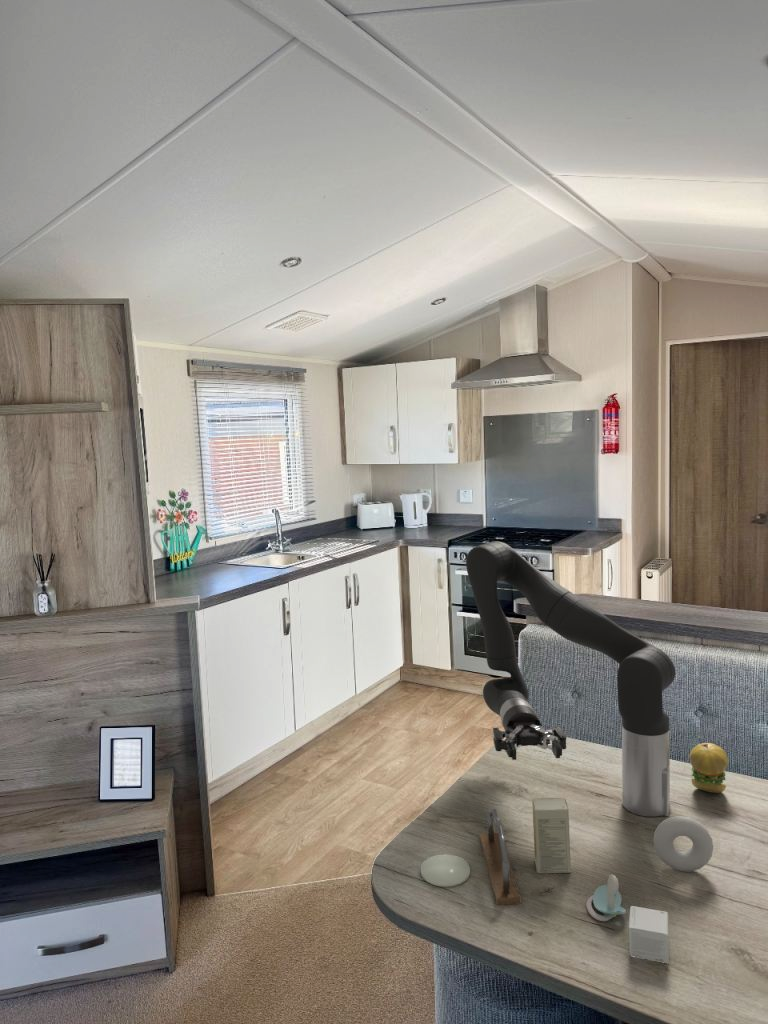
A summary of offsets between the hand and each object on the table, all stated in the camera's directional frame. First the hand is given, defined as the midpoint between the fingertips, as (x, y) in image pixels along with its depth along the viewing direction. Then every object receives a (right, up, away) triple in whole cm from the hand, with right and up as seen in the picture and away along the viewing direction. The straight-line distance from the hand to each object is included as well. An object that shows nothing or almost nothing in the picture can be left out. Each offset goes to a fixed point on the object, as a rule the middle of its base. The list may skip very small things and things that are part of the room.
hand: (536, 754), depth 144 cm
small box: (+11, -20, -30) cm, 38 cm away
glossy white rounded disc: (-18, -19, -9) cm, 28 cm away
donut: (+24, -17, -11) cm, 31 cm away
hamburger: (+40, -14, +16) cm, 45 cm away
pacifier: (+7, -19, -21) cm, 29 cm away
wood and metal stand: (-9, -18, -8) cm, 22 cm away
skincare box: (+1, -18, -8) cm, 20 cm away
